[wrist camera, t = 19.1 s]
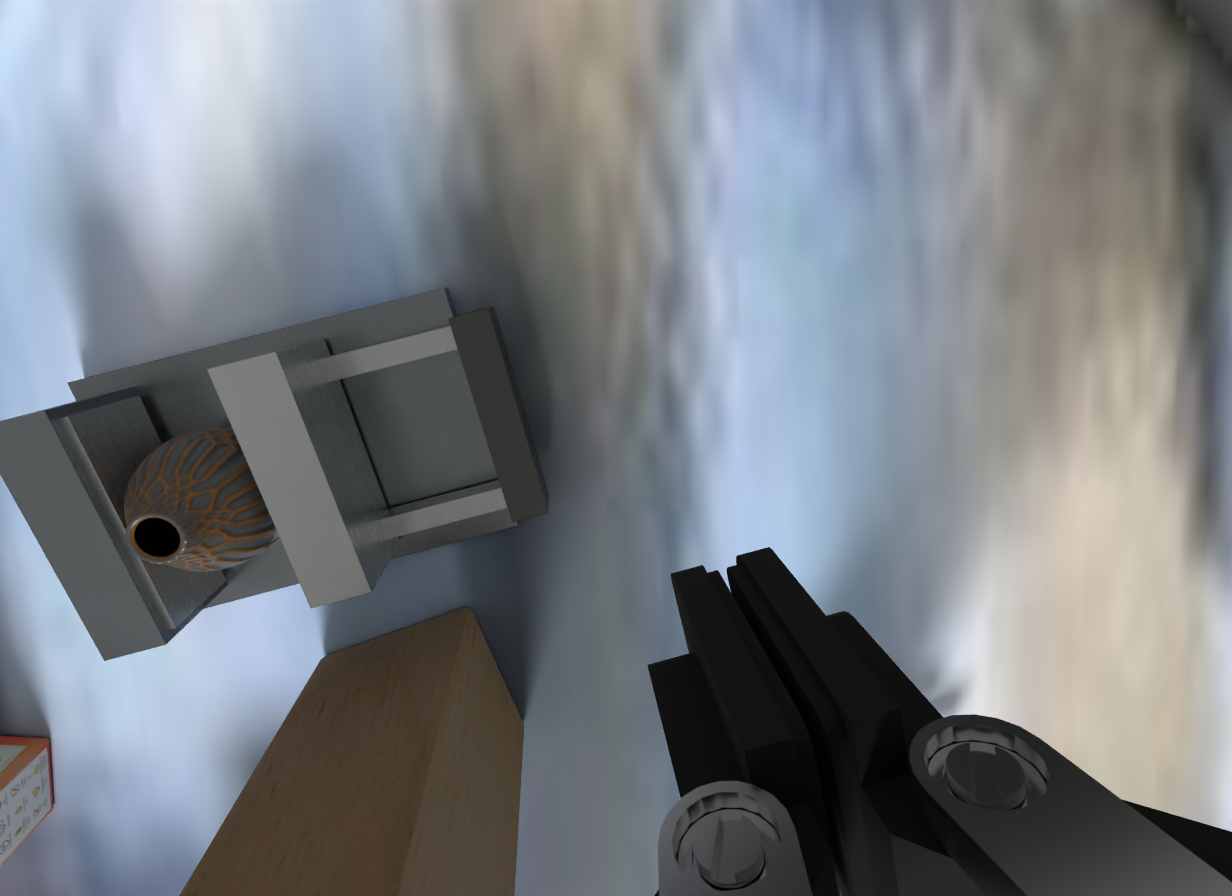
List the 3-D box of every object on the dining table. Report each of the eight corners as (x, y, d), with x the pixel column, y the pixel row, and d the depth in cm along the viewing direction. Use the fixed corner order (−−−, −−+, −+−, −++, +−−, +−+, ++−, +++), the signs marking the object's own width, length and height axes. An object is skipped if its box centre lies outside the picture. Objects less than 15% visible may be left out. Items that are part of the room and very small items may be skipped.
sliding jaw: (491, 296, 33) (478, 300, 27) (550, 502, 36) (551, 544, 30) (267, 353, 32) (207, 369, 27) (349, 555, 36) (310, 608, 30)
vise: (447, 287, 34) (421, 290, 27) (519, 517, 38) (511, 571, 31) (84, 379, 33) (-39, 405, 26) (194, 603, 37) (114, 677, 30)
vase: (289, 400, 34) (202, 440, 25) (335, 515, 35) (268, 588, 27) (162, 431, 33) (32, 483, 25) (215, 546, 35) (111, 630, 27)
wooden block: (320, 654, 39) (97, 1019, 20) (471, 601, 39) (394, 914, 20) (386, 774, 42) (247, 1196, 23) (527, 725, 42) (507, 1104, 23)
